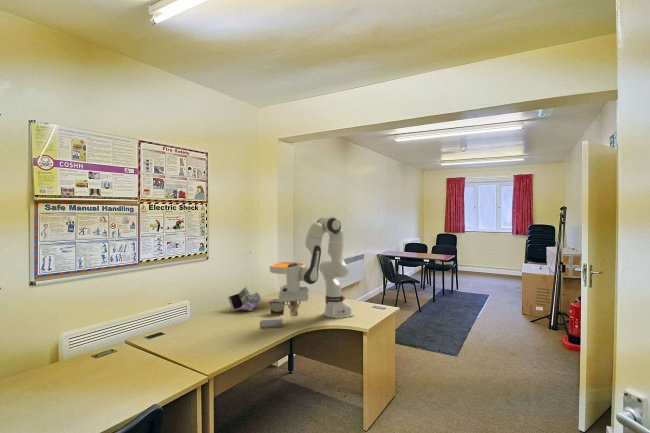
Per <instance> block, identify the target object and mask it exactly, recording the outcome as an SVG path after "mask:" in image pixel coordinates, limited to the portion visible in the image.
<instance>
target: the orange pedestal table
mask: <svg viewBox="0 0 650 433" xmlns="http://www.w3.org/2000/svg"><path fill="white" fill-rule="evenodd" d="M292 263H297V264H298V265H300V266H303V267H306V265H305V263H304V262H300V261H299V262H298V261H280V262H273V263H270V264H269V272H270V273H271V274H276V275H277V274H279V275H286V271H287V266H288V265H289V264H292ZM297 303H298V304H299V301H297ZM288 304H289V305H290V302H289V303H288ZM285 305H286V306H288V305H287V303H286V302H285ZM285 305H284V306H285Z"/></svg>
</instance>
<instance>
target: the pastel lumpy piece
mask: <svg viewBox="0 0 650 433" xmlns="http://www.w3.org/2000/svg"><path fill="white" fill-rule="evenodd" d="M227 298H228V299H227V300H228V302H229V303H230V307H231V309H232V312H235V311H249V312H251V311H253V310H254V309H255V308H256V307H257V304H259V303H260V302H261V300H262V299H261V295H260V293H259V292H254V293H253V294H250V292H249V290H248V289H247V287H246V286H245V287H243V288H242V289H241V290H240V291H239V292H238V293H237V294H236V293H235V294H234V295H230V296H228V297H227Z"/></svg>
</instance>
